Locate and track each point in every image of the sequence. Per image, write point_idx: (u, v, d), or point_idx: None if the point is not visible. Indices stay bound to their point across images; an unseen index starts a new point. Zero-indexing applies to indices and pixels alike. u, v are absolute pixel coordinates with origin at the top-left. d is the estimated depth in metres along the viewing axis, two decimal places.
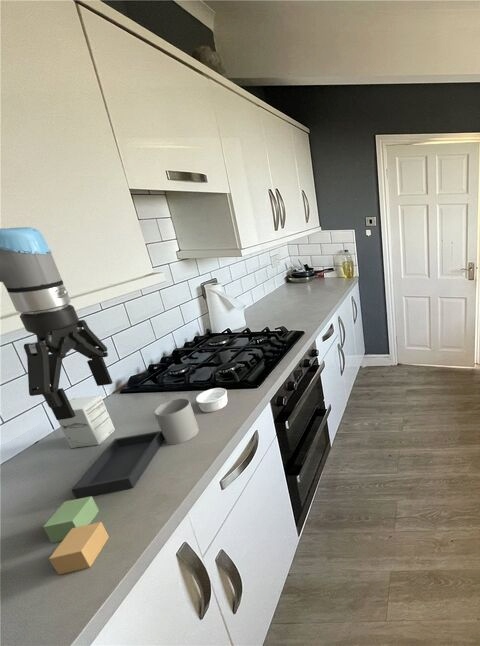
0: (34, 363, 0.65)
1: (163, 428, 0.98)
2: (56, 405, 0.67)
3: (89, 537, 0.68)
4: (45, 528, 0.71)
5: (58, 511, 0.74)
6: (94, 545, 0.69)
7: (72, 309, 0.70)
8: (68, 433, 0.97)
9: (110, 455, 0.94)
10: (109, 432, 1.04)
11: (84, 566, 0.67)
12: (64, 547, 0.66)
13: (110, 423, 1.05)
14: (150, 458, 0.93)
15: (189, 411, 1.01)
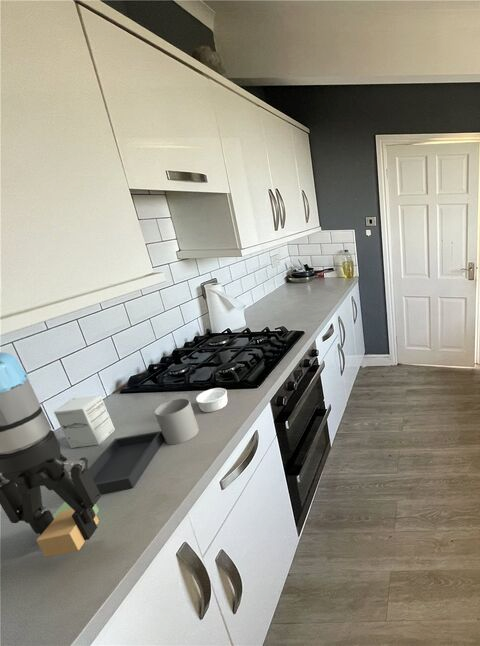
0: (86, 479, 0.64)
1: (163, 428, 0.98)
2: (94, 515, 0.68)
3: None
4: None
5: (58, 511, 0.74)
6: None
7: None
8: (68, 433, 0.97)
9: (110, 455, 0.94)
10: (109, 432, 1.04)
11: (73, 550, 0.65)
12: (52, 529, 0.64)
13: (110, 423, 1.05)
14: (150, 458, 0.93)
15: (189, 411, 1.01)
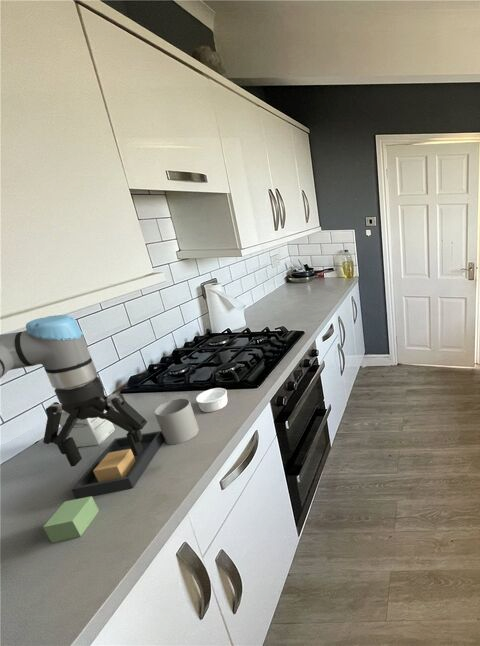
0: (127, 408, 0.84)
1: (163, 428, 0.98)
2: (142, 437, 0.88)
3: (122, 458, 0.88)
4: (45, 528, 0.71)
5: (58, 511, 0.74)
6: (125, 464, 0.88)
7: None
8: None
9: None
10: (109, 432, 1.04)
11: None
12: (104, 464, 0.86)
13: (110, 423, 1.05)
14: (150, 458, 0.93)
15: (189, 411, 1.01)
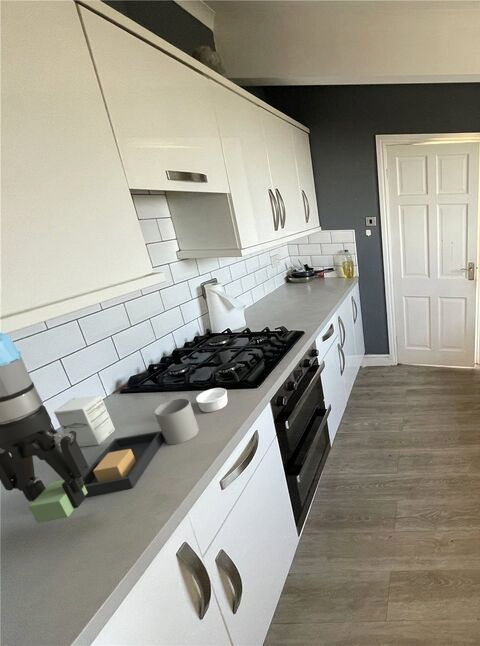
0: (74, 450, 0.70)
1: (163, 428, 0.98)
2: (83, 485, 0.73)
3: (122, 458, 0.88)
4: (31, 507, 0.68)
5: (45, 491, 0.72)
6: (125, 464, 0.88)
7: None
8: None
9: None
10: (109, 432, 1.04)
11: None
12: (104, 464, 0.86)
13: (110, 423, 1.05)
14: (150, 458, 0.93)
15: (189, 411, 1.01)
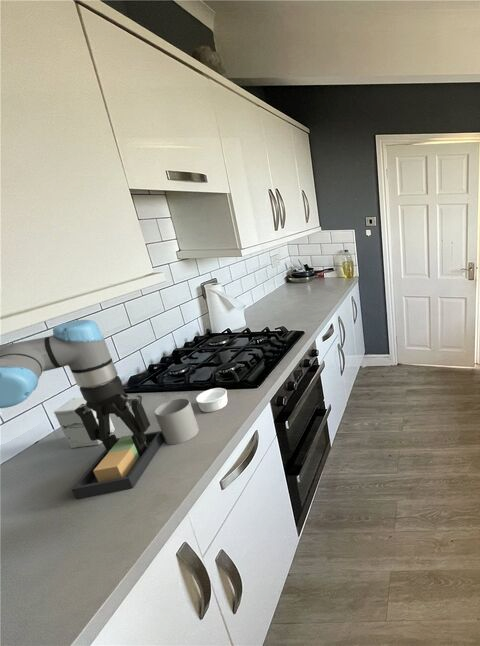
0: (140, 410, 0.91)
1: (163, 428, 0.98)
2: (145, 439, 0.95)
3: (122, 458, 0.88)
4: None
5: (118, 442, 0.93)
6: (125, 464, 0.88)
7: None
8: (68, 433, 0.97)
9: None
10: None
11: None
12: (104, 464, 0.86)
13: (110, 423, 1.05)
14: (150, 458, 0.93)
15: (189, 411, 1.01)
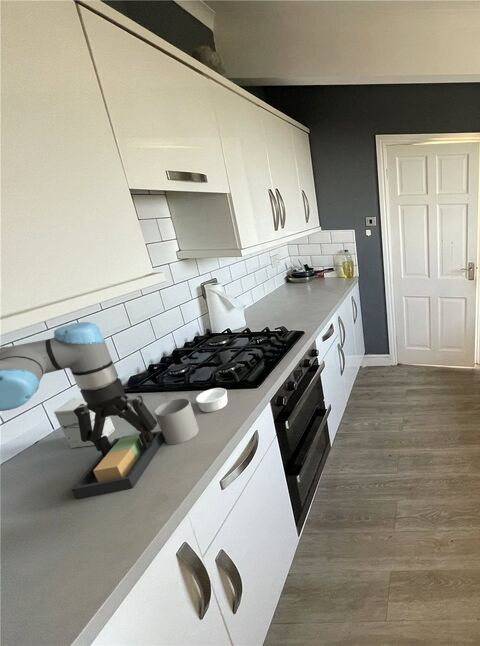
0: (143, 410, 0.91)
1: (163, 428, 0.98)
2: None
3: (122, 458, 0.88)
4: None
5: (118, 442, 0.93)
6: (125, 464, 0.88)
7: None
8: (68, 433, 0.97)
9: None
10: (109, 432, 1.04)
11: None
12: (104, 464, 0.86)
13: (110, 423, 1.05)
14: (150, 458, 0.93)
15: (189, 411, 1.01)
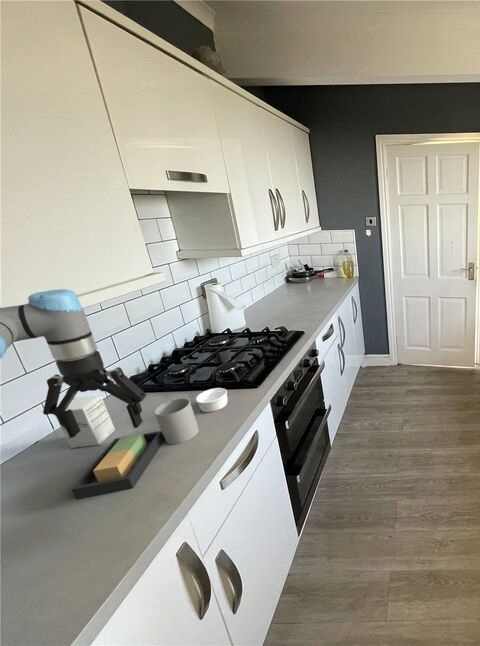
0: (126, 381, 0.87)
1: (163, 428, 0.98)
2: (141, 410, 0.90)
3: (122, 458, 0.88)
4: None
5: (118, 442, 0.93)
6: (125, 464, 0.88)
7: None
8: None
9: None
10: (109, 432, 1.04)
11: None
12: (104, 464, 0.86)
13: (110, 423, 1.05)
14: (150, 458, 0.93)
15: (189, 411, 1.01)
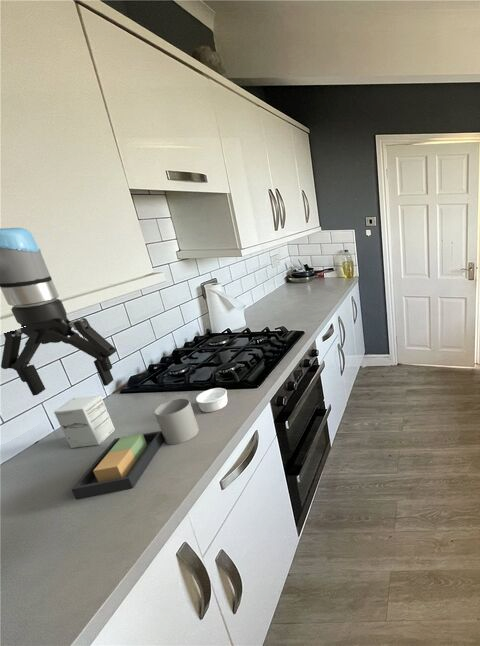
0: (92, 333, 0.79)
1: (163, 428, 0.98)
2: (111, 366, 0.83)
3: (122, 458, 0.88)
4: None
5: (118, 442, 0.93)
6: (125, 464, 0.88)
7: None
8: (68, 433, 0.97)
9: None
10: (109, 432, 1.04)
11: None
12: (104, 464, 0.86)
13: (110, 423, 1.05)
14: (150, 458, 0.93)
15: (189, 411, 1.01)
